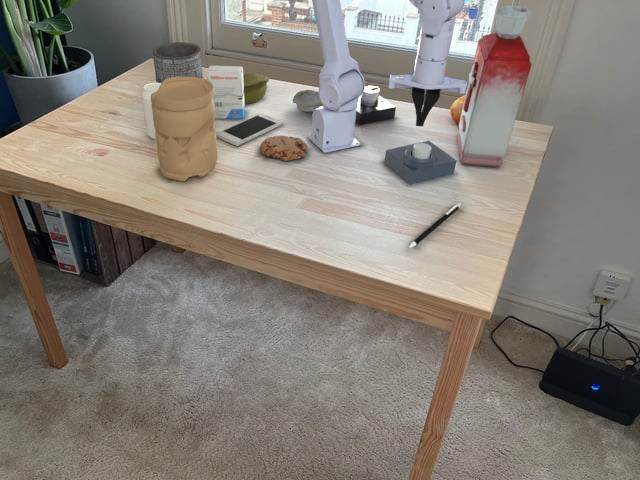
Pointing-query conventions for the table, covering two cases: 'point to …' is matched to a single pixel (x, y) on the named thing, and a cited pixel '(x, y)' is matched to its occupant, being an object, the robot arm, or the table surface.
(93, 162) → the table surface
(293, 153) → the cookie
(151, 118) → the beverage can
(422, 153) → the white short cylinder
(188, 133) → the container
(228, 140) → the smartphone
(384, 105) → the tap plate
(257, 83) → the olive green bowl
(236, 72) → the ink box
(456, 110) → the fruit
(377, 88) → the rotary dial knob
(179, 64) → the planter
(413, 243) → the pen
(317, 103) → the seashell
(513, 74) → the bottle
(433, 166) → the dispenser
